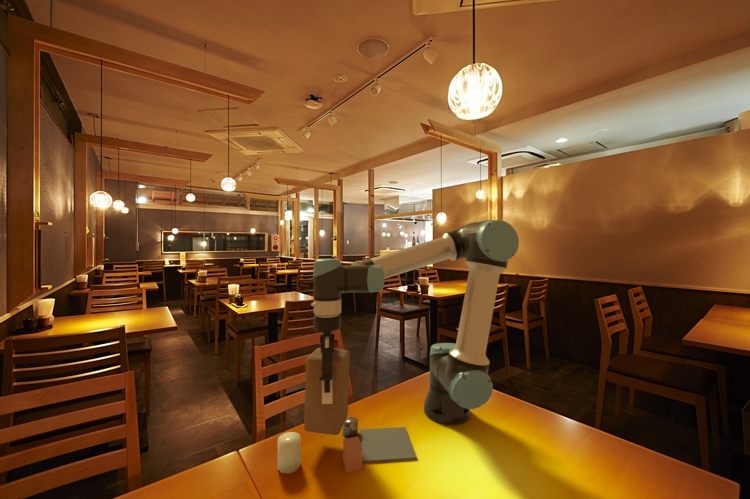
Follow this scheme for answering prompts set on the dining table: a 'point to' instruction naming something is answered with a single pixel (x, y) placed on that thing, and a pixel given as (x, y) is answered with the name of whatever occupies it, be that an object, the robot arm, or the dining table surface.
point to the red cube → (352, 454)
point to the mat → (386, 445)
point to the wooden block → (316, 413)
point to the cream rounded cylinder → (288, 452)
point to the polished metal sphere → (350, 427)
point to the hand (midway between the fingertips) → (327, 392)
